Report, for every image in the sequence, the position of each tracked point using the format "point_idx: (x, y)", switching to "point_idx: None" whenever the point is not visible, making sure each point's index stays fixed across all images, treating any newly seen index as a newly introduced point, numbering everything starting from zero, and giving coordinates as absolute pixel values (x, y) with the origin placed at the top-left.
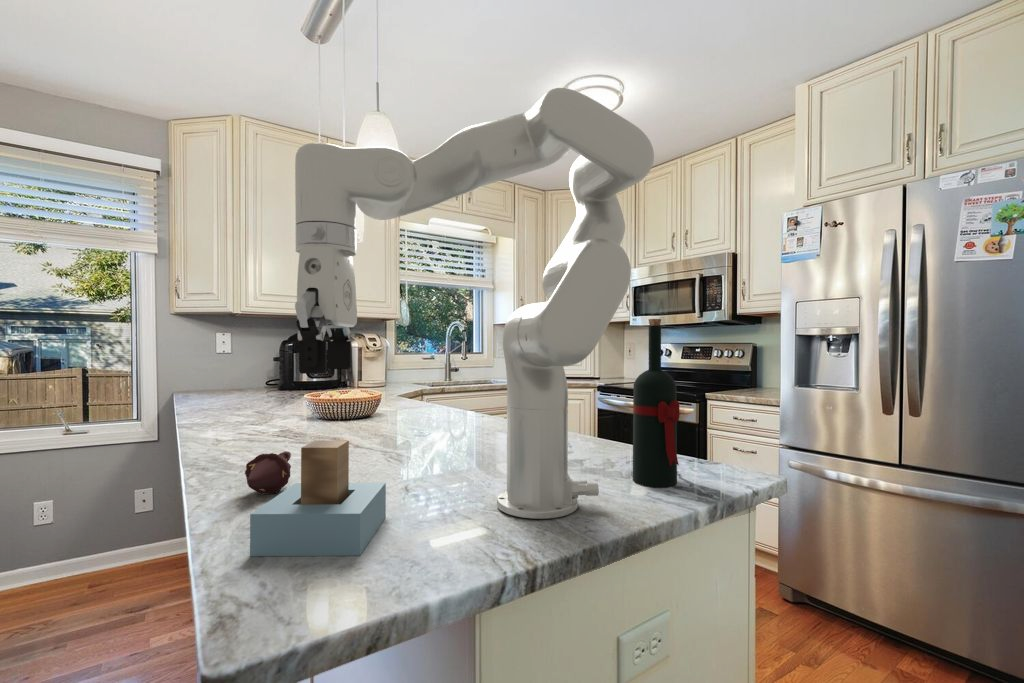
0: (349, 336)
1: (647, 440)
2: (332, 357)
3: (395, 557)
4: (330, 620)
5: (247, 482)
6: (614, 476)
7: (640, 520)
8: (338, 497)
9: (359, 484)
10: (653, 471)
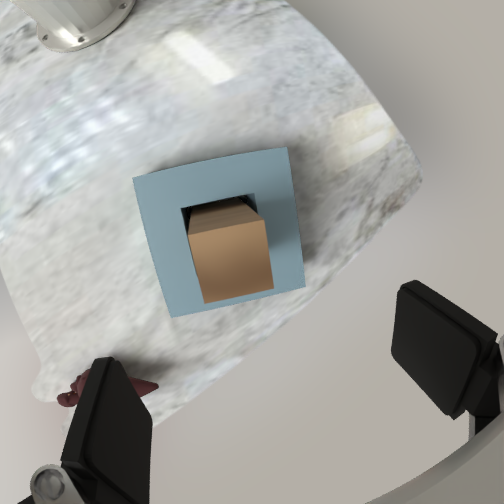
0: (48, 487)
1: None
2: (141, 441)
3: (269, 108)
4: (381, 129)
5: (158, 386)
6: None
7: None
8: (239, 205)
9: (151, 217)
10: None
